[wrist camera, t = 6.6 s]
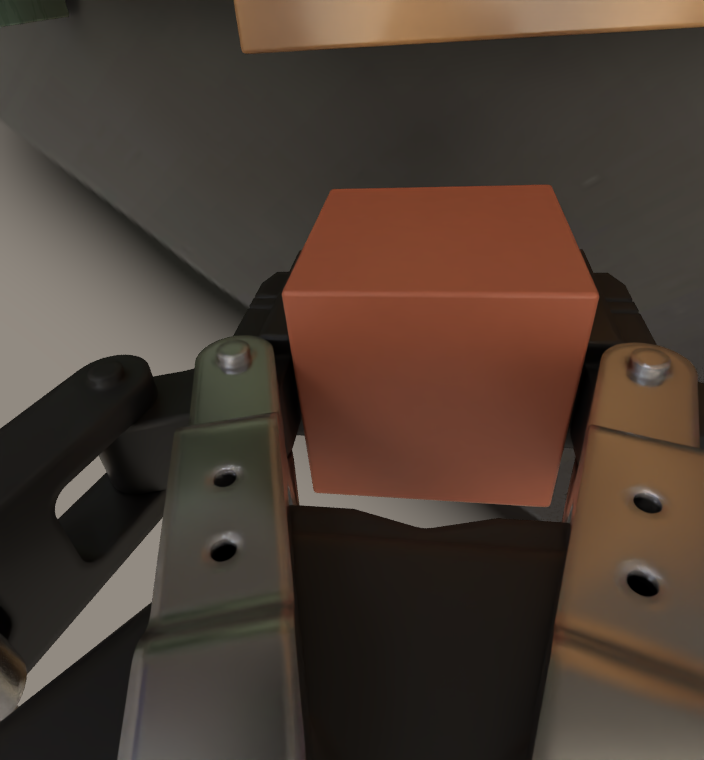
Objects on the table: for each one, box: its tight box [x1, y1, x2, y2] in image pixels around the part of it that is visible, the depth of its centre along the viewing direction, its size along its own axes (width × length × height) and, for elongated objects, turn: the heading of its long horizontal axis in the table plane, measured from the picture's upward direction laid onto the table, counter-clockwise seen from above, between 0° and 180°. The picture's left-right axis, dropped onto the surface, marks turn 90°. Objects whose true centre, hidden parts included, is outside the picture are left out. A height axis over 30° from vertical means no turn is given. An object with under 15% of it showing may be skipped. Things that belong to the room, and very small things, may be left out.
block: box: [282, 185, 599, 507], centre depth 11 cm, size 4×4×4 cm
